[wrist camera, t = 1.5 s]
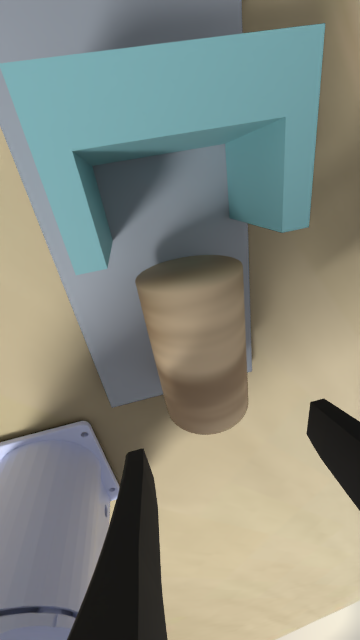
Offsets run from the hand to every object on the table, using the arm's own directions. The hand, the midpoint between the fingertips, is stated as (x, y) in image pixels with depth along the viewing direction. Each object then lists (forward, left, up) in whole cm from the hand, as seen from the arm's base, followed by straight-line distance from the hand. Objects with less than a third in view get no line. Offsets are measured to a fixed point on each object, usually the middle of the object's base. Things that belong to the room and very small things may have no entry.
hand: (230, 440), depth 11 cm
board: (+7, +1, -7) cm, 10 cm away
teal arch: (+10, 0, -7) cm, 12 cm away
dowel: (+2, 0, -7) cm, 7 cm away
